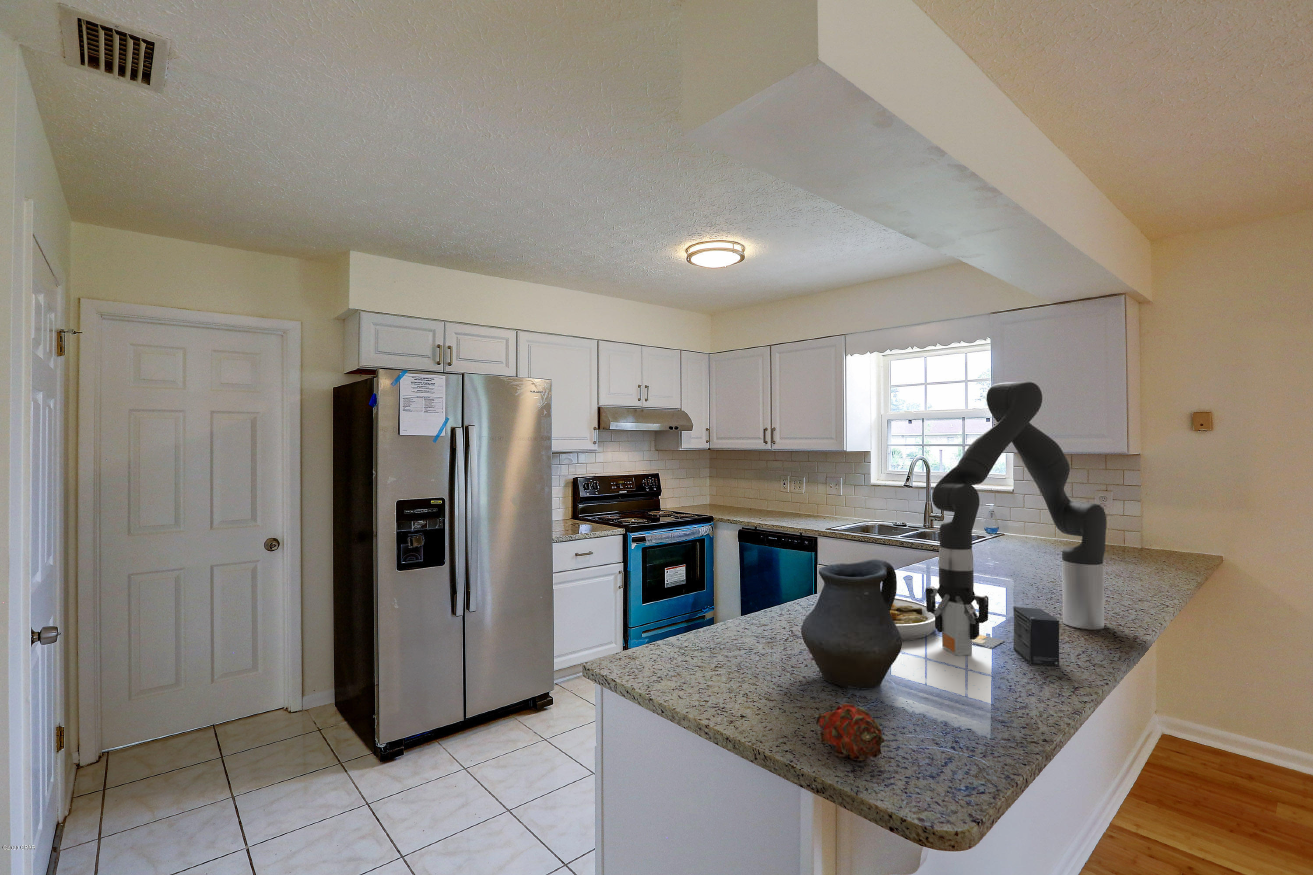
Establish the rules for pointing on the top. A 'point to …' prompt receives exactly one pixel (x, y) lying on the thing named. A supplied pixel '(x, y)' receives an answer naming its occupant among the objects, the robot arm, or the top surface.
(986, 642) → the card
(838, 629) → the pitcher
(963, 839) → the top surface
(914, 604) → the bowl
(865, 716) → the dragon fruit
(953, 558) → the robot arm
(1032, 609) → the small box
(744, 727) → the top surface
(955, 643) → the skincare box
